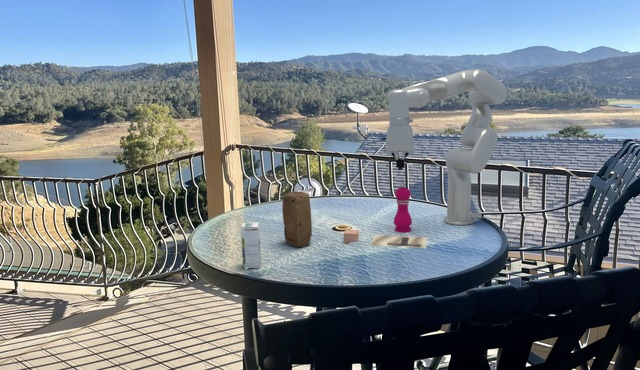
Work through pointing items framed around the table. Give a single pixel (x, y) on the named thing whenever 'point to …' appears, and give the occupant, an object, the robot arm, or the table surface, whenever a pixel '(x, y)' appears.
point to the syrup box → (251, 245)
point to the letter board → (399, 241)
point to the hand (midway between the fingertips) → (400, 169)
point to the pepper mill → (402, 210)
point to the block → (297, 218)
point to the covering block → (351, 236)
